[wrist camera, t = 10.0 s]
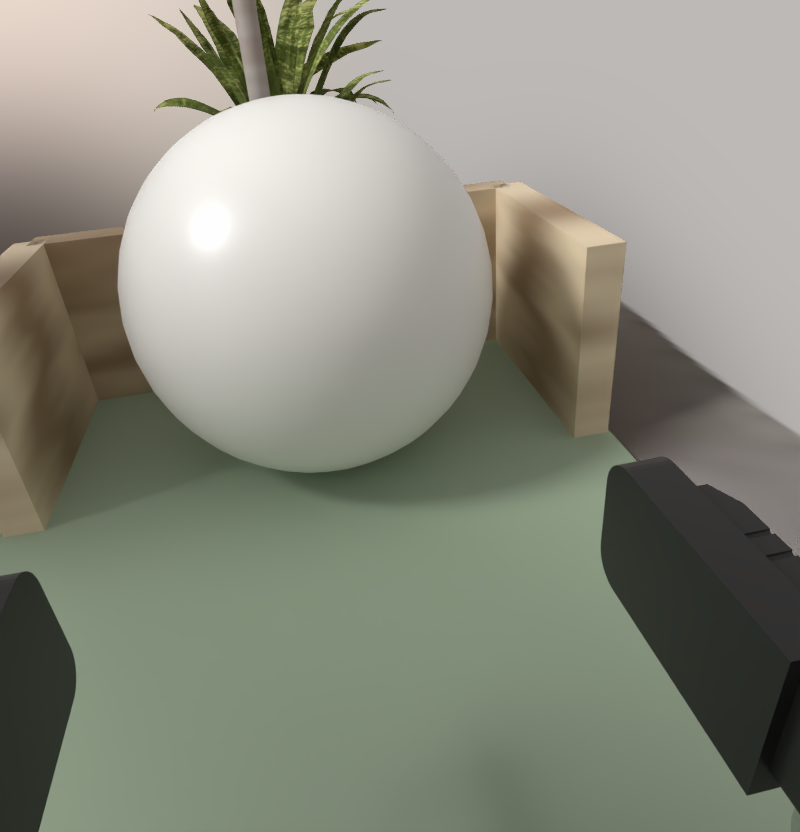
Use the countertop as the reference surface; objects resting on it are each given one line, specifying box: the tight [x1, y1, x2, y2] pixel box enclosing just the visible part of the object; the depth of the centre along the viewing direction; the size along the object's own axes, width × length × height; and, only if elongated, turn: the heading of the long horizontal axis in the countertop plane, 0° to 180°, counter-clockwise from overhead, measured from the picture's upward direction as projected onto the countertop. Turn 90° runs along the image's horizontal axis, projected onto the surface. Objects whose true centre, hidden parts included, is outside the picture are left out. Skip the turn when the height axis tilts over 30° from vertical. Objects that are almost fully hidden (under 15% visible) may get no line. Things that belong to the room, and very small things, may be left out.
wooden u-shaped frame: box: [0, 0, 626, 538], centre depth 21 cm, size 11×19×20 cm, turn 101°
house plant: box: [152, 0, 389, 115], centre depth 35 cm, size 14×14×16 cm
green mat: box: [0, 340, 795, 832], centre depth 18 cm, size 28×20×1 cm
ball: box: [117, 94, 493, 473], centre depth 20 cm, size 11×11×11 cm
